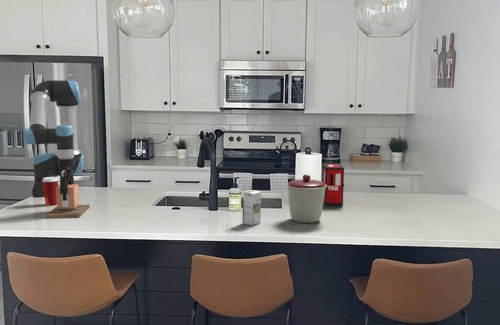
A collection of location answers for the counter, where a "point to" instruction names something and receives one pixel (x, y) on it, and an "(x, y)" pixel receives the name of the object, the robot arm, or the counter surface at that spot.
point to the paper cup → (50, 190)
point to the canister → (306, 199)
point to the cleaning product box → (333, 183)
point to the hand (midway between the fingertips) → (68, 204)
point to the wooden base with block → (67, 212)
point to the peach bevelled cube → (72, 196)
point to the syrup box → (251, 207)
